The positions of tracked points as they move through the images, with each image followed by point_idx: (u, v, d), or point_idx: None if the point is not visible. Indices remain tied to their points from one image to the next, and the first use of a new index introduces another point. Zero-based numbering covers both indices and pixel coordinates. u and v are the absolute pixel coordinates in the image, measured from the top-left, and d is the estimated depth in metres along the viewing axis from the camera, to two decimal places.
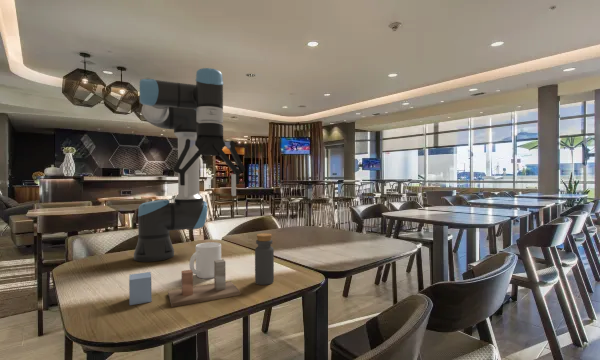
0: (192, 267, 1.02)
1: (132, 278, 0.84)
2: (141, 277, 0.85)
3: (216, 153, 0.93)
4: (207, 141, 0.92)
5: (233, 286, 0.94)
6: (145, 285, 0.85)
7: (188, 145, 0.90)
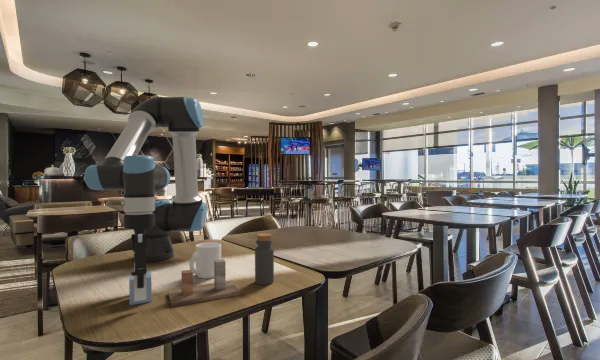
0: (192, 267, 1.02)
1: (132, 278, 0.84)
2: None
3: None
4: None
5: (233, 286, 0.94)
6: None
7: (134, 234, 0.91)
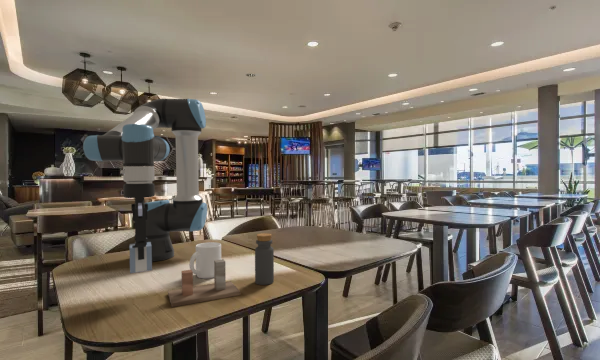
0: (192, 267, 1.02)
1: None
2: None
3: None
4: None
5: (233, 286, 0.94)
6: None
7: None
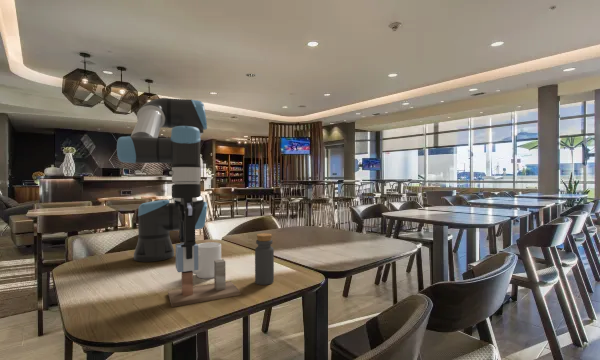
0: None
1: (180, 246, 0.86)
2: None
3: (183, 215, 0.86)
4: (181, 202, 0.88)
5: (233, 286, 0.94)
6: None
7: None
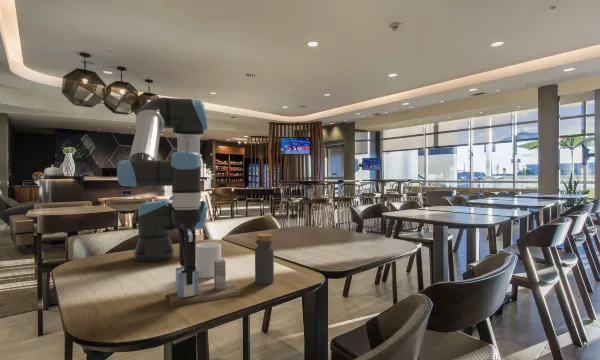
0: None
1: (180, 271, 0.86)
2: None
3: (183, 241, 0.86)
4: (182, 227, 0.88)
5: (233, 286, 0.94)
6: None
7: None
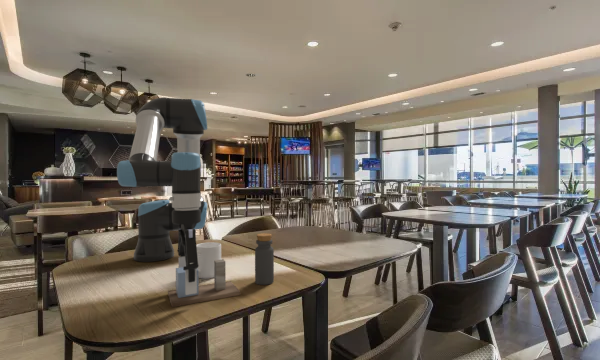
0: None
1: (180, 271, 0.86)
2: None
3: None
4: (182, 227, 0.88)
5: (233, 286, 0.94)
6: None
7: (179, 229, 0.93)
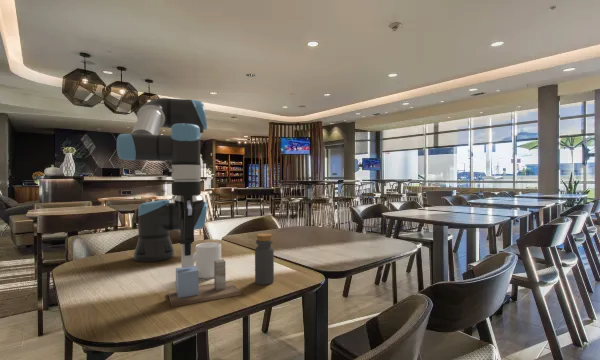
0: None
1: (180, 271, 0.86)
2: (189, 270, 0.87)
3: None
4: (181, 200, 0.88)
5: (233, 286, 0.94)
6: (192, 278, 0.87)
7: None
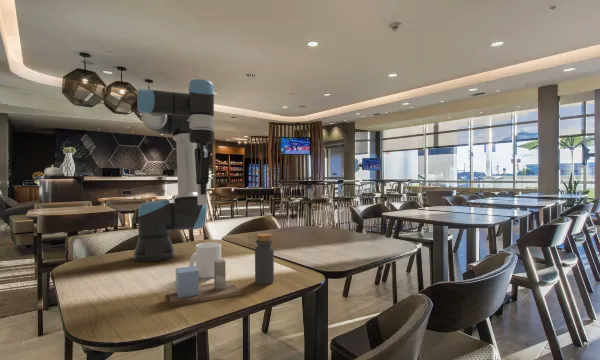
0: None
1: (180, 271, 0.86)
2: (189, 270, 0.87)
3: (199, 157, 1.00)
4: (197, 147, 1.02)
5: (233, 286, 0.94)
6: (192, 278, 0.87)
7: None
